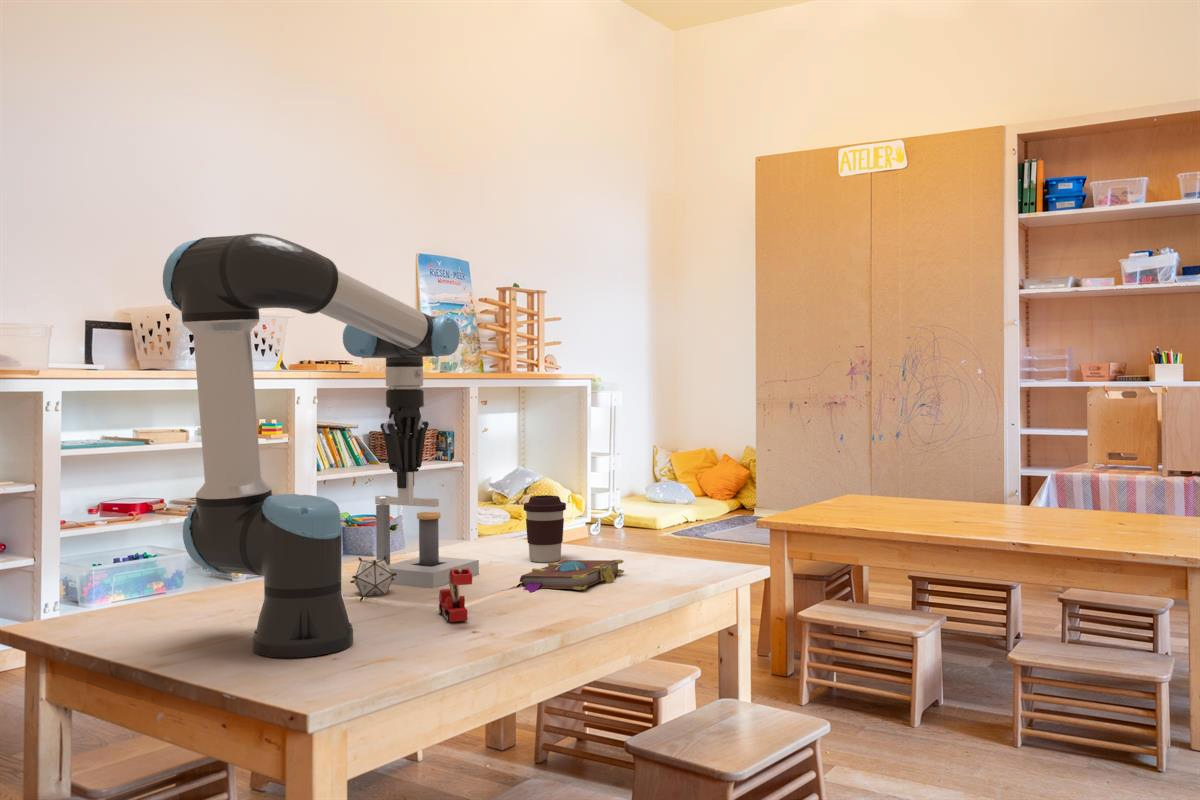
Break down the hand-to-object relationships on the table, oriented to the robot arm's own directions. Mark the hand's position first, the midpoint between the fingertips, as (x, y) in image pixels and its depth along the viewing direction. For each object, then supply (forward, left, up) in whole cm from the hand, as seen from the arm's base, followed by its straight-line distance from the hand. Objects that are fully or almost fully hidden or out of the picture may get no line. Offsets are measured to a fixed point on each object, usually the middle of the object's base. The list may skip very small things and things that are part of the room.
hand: (405, 504), depth 202 cm
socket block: (+6, -2, -17) cm, 18 cm away
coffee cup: (+39, -10, -17) cm, 44 cm away
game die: (-12, -1, -17) cm, 21 cm away
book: (+18, -28, -18) cm, 38 cm away
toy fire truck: (-19, -26, -17) cm, 36 cm away
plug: (+6, -2, -16) cm, 17 cm away
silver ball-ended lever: (+6, +4, -1) cm, 7 cm away
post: (+6, +10, -17) cm, 21 cm away
